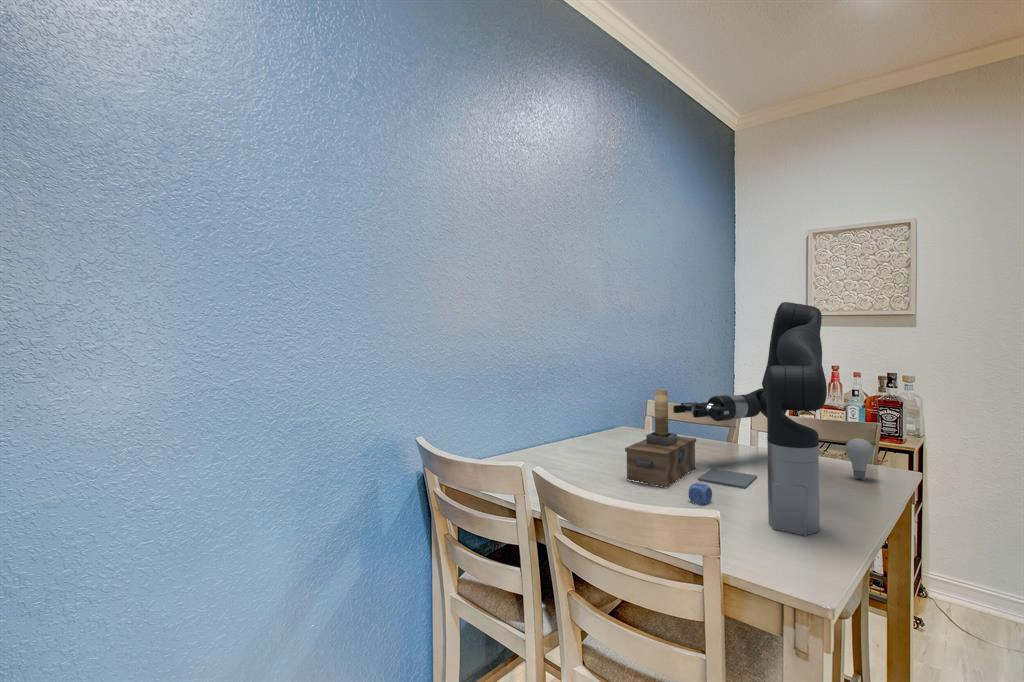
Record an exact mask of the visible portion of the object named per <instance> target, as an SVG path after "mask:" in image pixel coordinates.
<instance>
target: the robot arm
mask: <svg viewBox="0 0 1024 682" xmlns="http://www.w3.org/2000/svg"><path fill="white" fill-rule="evenodd" d="M775 311H776V312H775V314H774V319H773V321H772V322H773V323H772V329H771V335H770V339H769V340H770V341H769V346H768V347H769V348H768V355H767V356H768V357H767V363H766V366H765V371H764V373H763V377H762V380H761V381H762V382H761V386H762V388H761V387H760V388H758V389H755V390H754V391H751V392H749V393H747V394H723V395H714V396H711V397H710V398H709V399H708V400H707V401H701V402H697V401H694V402H693V401H692V402H691V401H690V402H681V403H680V404H677V405H673V408H672V409H673V413H674V414H681V413H685V414H686V413H691V415H692V417H693V418H707V419H708V418H710V419H712V420H714V421H716V422H722V421H723V422H725V421H733V420H740V419H747V418H755V417H756V416H759V414H760V413H761V414H762V415H763V416H764V417H765V418H767V419H766V420H767V423H766V424H767V427H766V428H767V432H766V433H767V435H766V437H767V441H766V442H767V445H766V447H767V507H768V508H767V509H768V510H767V511H768V512H767V514H768V516H767V517H768V518H767V519H768V524H769V525H771V528H772V529H774V530H778V531H783V532H788V533H791V534H796V535H800V536H806V537H807V536H808V535H812V534H816V533H818V532H820V530H821V529H820V528H821V527H820V522H821V520H820V518H821V517H820V512H821V511H820V461H819V460H820V456H819V455H820V447H819V445H820V444H819V443H820V442H819V441H820V437H819V433H818V431H816V430H815V429H814V428H811V427H809V426H806V425H804V424H801V423H798V422H796V421H795V420H793V419H792V418H790V417H788V416H787V415H786V413H787V411H796V412H817V411H819V410H821V409H823V407H824V406H825V404H826V400H827V395H828V386H827V379H826V374H825V372H824V367H823V347H822V344H823V343H822V340H821V339H822V338H821V327H822V321H823V320H822V316H823V315H822V312H821V310H820V309H819V308H818V307H817V306H816V307H815V306H813V305H809V304H803V303H795V302H790V301H789V302H787V301H784V302H783V301H782V302H781V303H780V304H779V305H778V307H777V308H776V310H775Z"/></svg>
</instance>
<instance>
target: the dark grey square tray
mask: <svg viewBox="0 0 1024 682" xmlns="http://www.w3.org/2000/svg"><path fill="white" fill-rule="evenodd" d="M677 436H678V433H676V432H675V433H673V432H668V436H667V437H664V436H656V435H655V431H652V432H650V433H647V434H646V435H645V437H646V438H645V439H646V444H653V445H660V446H667V447H669V446H671V445H673V444H675V443H677Z"/></svg>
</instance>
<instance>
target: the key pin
mask: <svg viewBox="0 0 1024 682" xmlns="http://www.w3.org/2000/svg"><path fill="white" fill-rule="evenodd" d="M668 392H669V391H668V390H667V389H654V432H655V435H656V436H664V437H667V436H668V433H669V394H668Z"/></svg>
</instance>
